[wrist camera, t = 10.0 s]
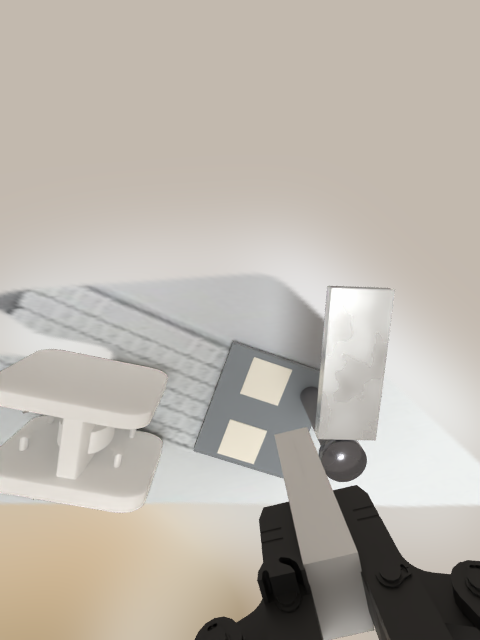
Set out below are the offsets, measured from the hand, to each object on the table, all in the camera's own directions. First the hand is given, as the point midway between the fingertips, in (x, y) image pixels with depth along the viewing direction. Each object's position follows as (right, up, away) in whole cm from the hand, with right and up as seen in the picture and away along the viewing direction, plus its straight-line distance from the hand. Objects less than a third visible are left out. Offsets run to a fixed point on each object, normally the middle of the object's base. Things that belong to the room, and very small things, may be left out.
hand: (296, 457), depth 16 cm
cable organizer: (-18, -3, +26) cm, 31 cm away
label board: (0, -5, +26) cm, 26 cm away
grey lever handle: (+6, +1, +12) cm, 14 cm away
